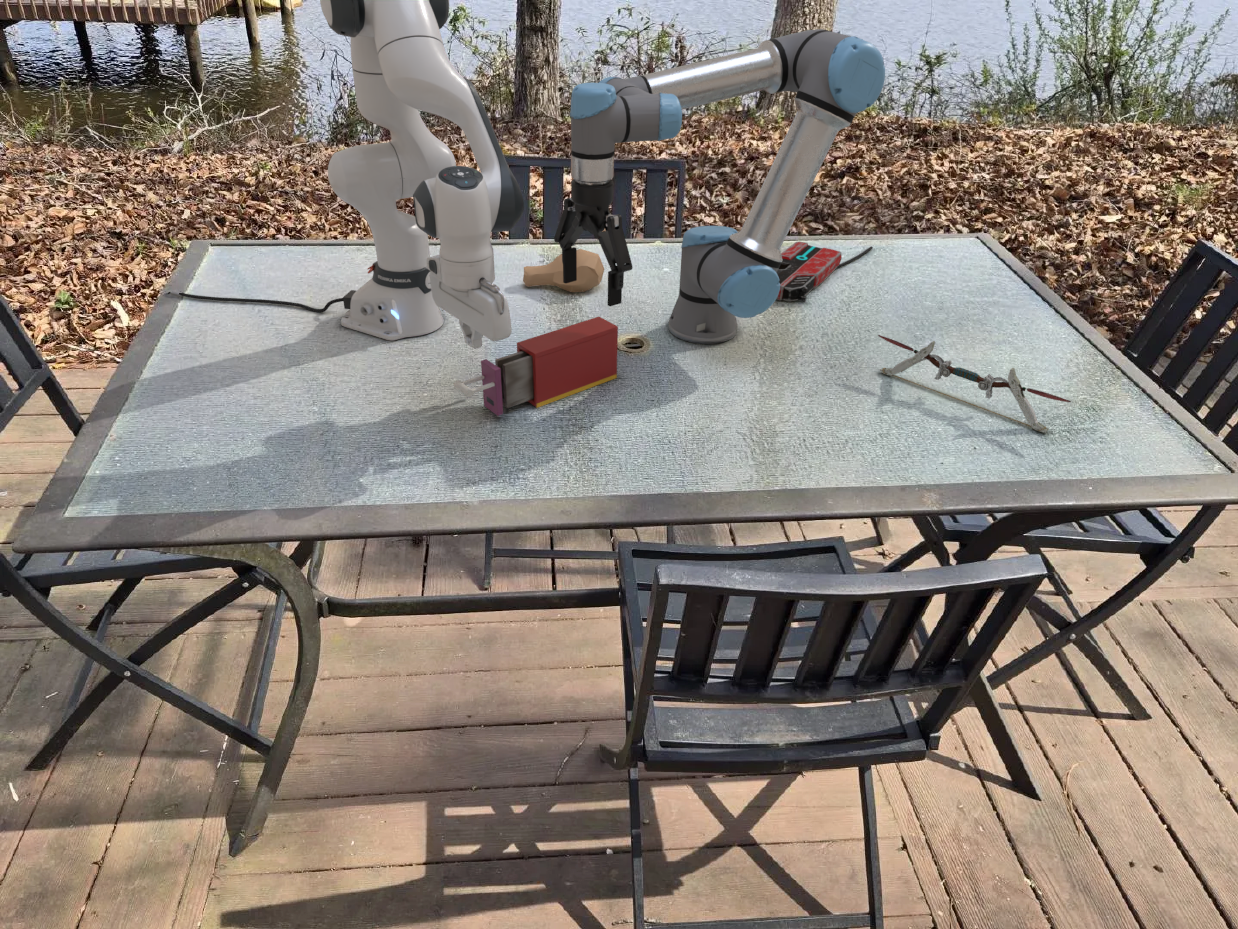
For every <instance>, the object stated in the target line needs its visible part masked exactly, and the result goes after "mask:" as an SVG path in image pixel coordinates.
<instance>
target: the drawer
mask: <svg viewBox="0 0 1238 929" xmlns="http://www.w3.org/2000/svg"><path fill="white" fill-rule="evenodd" d="M494 362H495V364H494V363H493V362H491V361H490V360H488V359H486V358H485V359H482V360H480V367H481V368H480V369H481V375H478V376H475V377H473V378H470V379H467V380H464V381H461V380H456V381H454V383H453V388H454V389H455V390H457V391H458V392H460V393H461V394H462V395H463V396H465V397H467V398H469V399H470V398H472V397H473V396H474V394H476V393H479V392H481V391H482V397H483V398H482V399H483V406H484V407H485V408H486V409H488V410H489V411H490V412H492V413H493V414H494V415H495V416H502V415H504V408H506V409H509V408H512V407H514V406H515V407H516V406H518V405H521V404H523V403H526V402H528V401H529V400H532V399H534V383H533V356H531V355H529V354H528V353H526V352H525V351H520V352H517V351H516V352H514V353H511V354H507V355H505V356H502V357H499V358H496V359H495V360H494ZM480 381H481V384H482V385H480V386H476V387H474V388H471V387H469V386H468V385H470V384H474V383H476V382H480Z"/></svg>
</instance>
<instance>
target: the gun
mask: <svg viewBox="0 0 1238 929" xmlns="http://www.w3.org/2000/svg"><path fill="white" fill-rule="evenodd" d="M780 253H781V256H782V259H783V260H782V263H781V265H780V267H779V269H778V271H777V275H778V277H779V283H780V291H779V294H778V296H777V298H776V301H785V302H790V303H791V302H794V301H800V302H802V303H805V302H806V300H807V295H808V294H809V293H810V292H811V291H812V290H815V289H817V287H819V286H820V285H821V284H823V283H824V282H825V281H826V279H828V278H829V277H830V275H831V274H832V273H833V272H834V271H835V270H837V269H838V268H837V267H838V266H839V264H841V263H842V257H843V255H842V251H840V250H837V249H833V248H827V247H818V246H815V245H810V244H809V243H808V242H804V241H794V243H793V244H791V245H790V246H788V247H787V248H786V249H785V250H783V251H782V252H780ZM836 268H837V269H836Z"/></svg>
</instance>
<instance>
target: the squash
mask: <svg viewBox="0 0 1238 929" xmlns="http://www.w3.org/2000/svg"><path fill="white" fill-rule="evenodd" d="M604 272H605V267H604V264H603V262H602V259H601V256H600V255H599V253H595V252H593V251H590V250H586V249H582V248H578V249H577V281H573V282H570V283H566V284H565V283H563V263H562V253H560V254H558V256H556V257H555V258H554V260H553V261H551V262H549V263H547V264H542V265H526V266H523V278H522V282H523V284H524V285H525V286H526V287H529V288H530V287H535V286H552V287H557V288H559V289H561V290H564V291H567V292H570V293H586V292H588V291H590V290H592V289H594V288H596V287H597V286H600V284H601V283H602V280H603V276H604Z"/></svg>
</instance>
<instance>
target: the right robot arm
mask: <svg viewBox="0 0 1238 929" xmlns="http://www.w3.org/2000/svg"><path fill="white" fill-rule="evenodd" d="M885 80H886V66H885V62H884V58H883V55H882V53H881V51H880V50H879V48H878V47H877V46H875V45H874V44H873V43H871V42H869V41H867V40H865V39H863V38H860V37H858V36H853V35H849V34H848V35H847V34H843V33H839V32H835V31H831V30H827V29H822V28H815V29H807V30H803V31H799V32H794V33H793V32H792V33H790V34H786V35H782V36H778V37H775V38H774V37H773V38H770V39H766V40H763V41H762V42H760V44H759V45H758V47H756V48H752V49H748V50H744V51H740V52H735V53H732V54H727V55H723V56H722V55H721V56H718V57H714V58H710V59H706V60H702V61H701V60H700V61H697V62H693V63H688V64H684V65H680V66H674V67H671V68H667V69H663V70H658V71H655V72H654V71H653V72H649V73H646V74H642V75H636V76H631V77H627V78H622V77H618V76H607V77H604V78H603V79H601V80H600V81H599V82H583V83H579V84H577V85H575V86H574V87H573V89H572V91H571V98H570V112H569V117H570V141H571V143H570V144H571V145H570V146H571V153H570V177H571V179H572V180H571V181H570V183H571V184H570V190H571V192H570V197H567V198H564V200H563V209H562V213H561V216H560V219H559V221H558V222H559V223H558V225H557V228H556V232H555V234H554V237H553V240H554V243H556V244H557V243H558V244H559V247H560V249H561V254H562V263H563V283H565V284H566V283H570V282H573V281H577V250H578V249H577V247H575V246H576V245H577V241H578V240H579V239H580V237H581V235H582V234H583V232H584V231H585V232H588V233H589V234H592V235H593V237H594V238H595V239H596V240H597V241H598V243H599V245H600V247H601V249H602V252H603V254H604V257H605V259H606V262H607V263H608V266H609V268H610V270H608V271H607V306H608V307H613V306H617V305H620V304H622V298H623V297H622V296H623V295H622V291H623V288H624V277H625V276H624V275H625V273H626V272H629V271H632V270H633V268H634V267H633V263H632V259H631V255H630V252H629V247H628V244H627V239H626V237H625V233H624V229H623V216H622V215H621V214H620V213H618V214H611V211H610V206H611V205H612V203H613V201H614V193H615V192H614V190H615V187H614V186H615V182H614V181H613V178H614V177H615V154H616V153H615V152H616V151H615V150H616V148H615V146H616V144H622V143H623V144H624V143H638V142H654V141H656V142H660V141H665V140H669V139H670V140H671V139H674V138H675V137H677V136H678V134H679V133H680V132H681V128H682V125H683V110H687V109H691V108H696V107H699V106H704V105H708V104H711V103H716V102H720V101H724V100H725V101H726V100H728V99H732V98H736V97H741V96H745V95H749V94H754V93H757V92H761V91H764V92H765V93H767V94H771V95H773V94H777V93H781V92H790V93H791V92H793V93H796V95H795V97H794V99H793V100H794V104H795V107H796V113H795V115H794V117H793V119H792V122H791V124H790V126H789V128H788V130H787V132H786V134H785V136H784V139H783V141H782V143H781V145H780V147H779V149H778V152H777V153H776V155H775V158H774V159H773V162H772V164H771V166H770V168H769V171H768V173H767V174H766V177H765V179H764V181H763V183H762V185H761V187H760V189H759V191H758V194H757V196H756V198H755V199H754V202H753V203H752V206H751V208H750V210H749V213H748V214H747V216H746V218H745V221H744V223H743V225H742V227H741V230H739V231H738V230H737V229H735V228H733V227H731V226H726V225H725V226H723V225H701V226H700V225H699V226H695V227H691V228H690V229H687V230H686V231H685V232H684V233H683V236H682V241H681V245H680V246H681V247H680V248H681V255H680V273H679V287H678V288H679V289H678V297H677V298H676V302H675V304H674V306H673V309H672V312H671V313H670V316H669V319H668V331H669V332H670V334H671V335H672V336H673V337H676V339H677V338H678V339H679V340H682V341H685V342H689V343H693V344H701V345H713V344H720V343H725V342H727V341H730V340H731V339H733V338H734V337H736V335H737V333H738V320H737V318H741V319H751V318H755V317H757V316H758V315H761V314H763V313H765V312H766V311H767V310H768V309H770V308H771V307H772V306H773V305H774V303H775V302H776V301H777V296H778V294H779V291H780V283H779V277H778V275H777V271H778V269H779V267H780V265H781V263H782V260H783V259H782V256H781V253H782V252H781V249H782V246H783V244H784V241H785V240H786V238H787V236H788V234H789V231H790V230H791V228H792V225H793V223H794V222H795V219H796V218H797V215H798V213H799V212H800V210H801V207H802V206H803V203H804V202H805V199H806V197H807V195H808V193H809V192H810V190H811V187H812V186H813V184H814V182H815V179H816V177H817V175H818V173H819V171H820V170H821V167H822V165H823V163H824V160H825V159H826V157H827V155H828V153H829V151H830V149H831V147H832V145H833V143H834V141H835V139H836V137H837V135H838V133H839V131H841V130H843V129H845V128H848V127H850V126H851V125H852V123H853V121H854V119H855V117H856V116H857V114H858V113H860V112H865V111H866V110H867V108H870V107H872V106H873V105H874V104H875V103H876V101H877V100H878V99H879V97H880V95H881V93H882V91H883V89H884V85H885ZM872 249H873V246H869V247H868V248H866V249H865V250H863V251H862V252H861V253H859V254H858V255H856V256H854V257H852V258H850V259H848V260H846V261H844V262H840V264H839V266H838V267H837V268H836V269H835V270H837V269H839V268H841V267H843V266H845V265H849V264H850V263H852V262H854V261H856V260H857V259H859V258H861V257H863V256H864V255H866V254H868V252H870V251H871V250H872Z"/></svg>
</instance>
